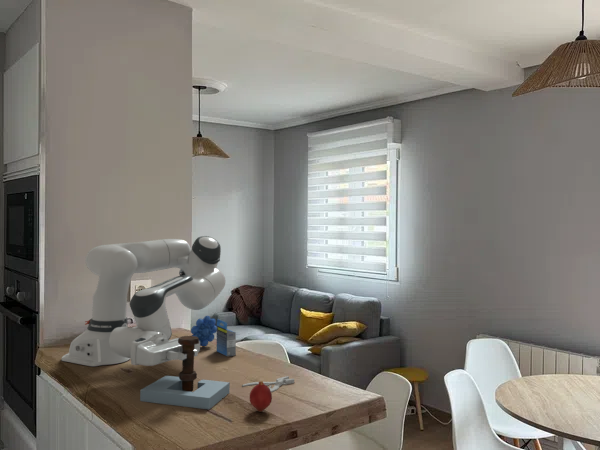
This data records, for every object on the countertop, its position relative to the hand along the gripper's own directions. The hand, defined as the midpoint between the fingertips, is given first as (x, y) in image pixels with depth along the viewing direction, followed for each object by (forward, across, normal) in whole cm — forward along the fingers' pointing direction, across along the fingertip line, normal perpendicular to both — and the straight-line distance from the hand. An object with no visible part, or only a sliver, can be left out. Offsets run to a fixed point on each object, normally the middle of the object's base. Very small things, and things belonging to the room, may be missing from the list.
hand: (190, 355), depth 149 cm
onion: (+22, -2, -12) cm, 25 cm away
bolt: (-1, 0, -10) cm, 11 cm away
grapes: (-35, -47, -12) cm, 59 cm away
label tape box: (-22, -44, -12) cm, 50 cm away
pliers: (+13, -22, -12) cm, 28 cm away
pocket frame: (-1, 0, -12) cm, 12 cm away
